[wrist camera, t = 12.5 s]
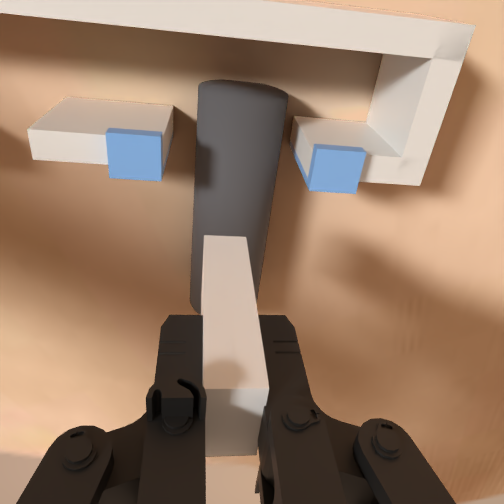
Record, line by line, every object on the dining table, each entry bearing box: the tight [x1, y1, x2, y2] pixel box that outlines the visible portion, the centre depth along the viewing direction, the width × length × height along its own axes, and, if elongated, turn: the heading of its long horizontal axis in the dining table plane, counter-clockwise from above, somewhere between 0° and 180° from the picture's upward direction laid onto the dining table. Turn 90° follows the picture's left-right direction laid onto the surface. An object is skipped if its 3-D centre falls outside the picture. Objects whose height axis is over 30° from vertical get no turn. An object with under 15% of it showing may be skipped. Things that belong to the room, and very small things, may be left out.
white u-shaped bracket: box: [0, 0, 476, 194], centre depth 17 cm, size 26×6×6 cm, turn 84°
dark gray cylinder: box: [190, 80, 288, 315], centre depth 22 cm, size 12×4×4 cm, turn 174°
